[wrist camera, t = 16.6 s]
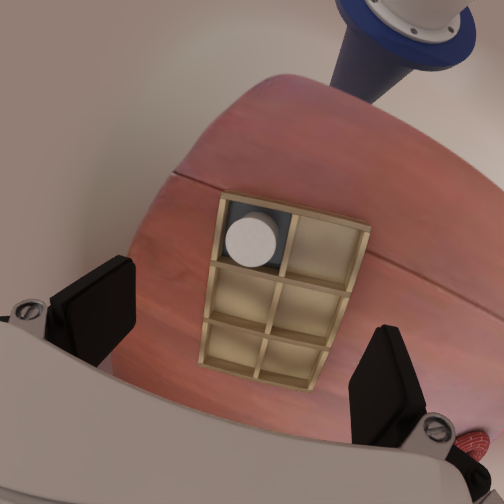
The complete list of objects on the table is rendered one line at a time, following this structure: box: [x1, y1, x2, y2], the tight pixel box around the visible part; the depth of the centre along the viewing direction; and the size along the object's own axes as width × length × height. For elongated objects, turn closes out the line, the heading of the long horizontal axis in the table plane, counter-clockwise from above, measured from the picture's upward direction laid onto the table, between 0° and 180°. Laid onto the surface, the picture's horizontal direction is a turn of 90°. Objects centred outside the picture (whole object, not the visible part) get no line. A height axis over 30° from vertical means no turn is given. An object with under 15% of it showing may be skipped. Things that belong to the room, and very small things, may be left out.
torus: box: [453, 431, 490, 462], centre depth 33 cm, size 16×14×4 cm
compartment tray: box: [198, 190, 372, 393], centre depth 29 cm, size 20×14×2 cm
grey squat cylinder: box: [225, 211, 279, 267], centre depth 26 cm, size 4×4×3 cm
